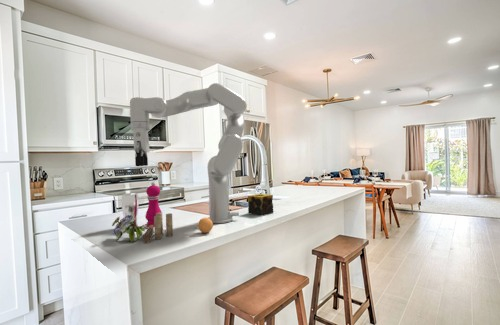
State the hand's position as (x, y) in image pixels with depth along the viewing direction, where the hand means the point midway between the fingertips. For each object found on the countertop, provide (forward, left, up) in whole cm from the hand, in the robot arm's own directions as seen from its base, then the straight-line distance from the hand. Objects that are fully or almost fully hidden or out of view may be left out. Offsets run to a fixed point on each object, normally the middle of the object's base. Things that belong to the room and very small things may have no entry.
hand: (142, 165), depth 114 cm
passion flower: (+3, +15, -28) cm, 32 cm away
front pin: (-12, +15, -28) cm, 34 cm away
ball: (-26, +15, -25) cm, 39 cm away
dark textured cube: (-58, -16, -28) cm, 66 cm away
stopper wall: (-4, +15, -28) cm, 32 cm away
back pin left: (-8, +18, -28) cm, 34 cm away
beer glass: (+6, -5, -28) cm, 29 cm away
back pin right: (-8, +12, -28) cm, 31 cm away
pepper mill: (-4, -5, -28) cm, 28 cm away
